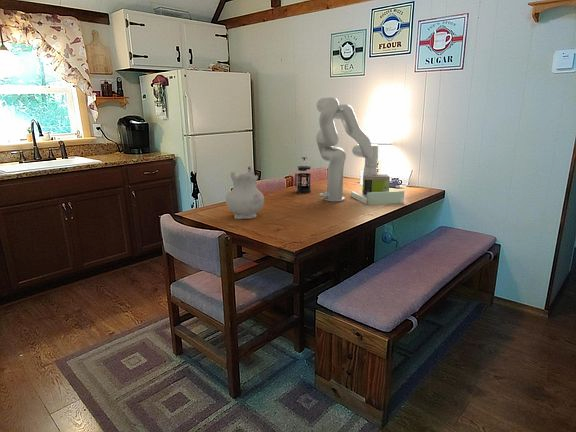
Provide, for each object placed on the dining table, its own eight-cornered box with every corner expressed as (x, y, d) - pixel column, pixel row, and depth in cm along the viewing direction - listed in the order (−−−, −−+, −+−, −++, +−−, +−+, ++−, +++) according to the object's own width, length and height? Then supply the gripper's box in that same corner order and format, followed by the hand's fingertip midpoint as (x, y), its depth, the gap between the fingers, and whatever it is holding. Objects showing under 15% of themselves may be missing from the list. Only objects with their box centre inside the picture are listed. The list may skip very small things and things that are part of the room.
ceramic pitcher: (232, 212, 210) (227, 167, 203) (267, 209, 209) (263, 164, 202) (225, 223, 190) (218, 174, 183) (264, 221, 189) (259, 171, 182)
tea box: (386, 197, 240) (387, 173, 236) (388, 201, 230) (390, 176, 226) (361, 196, 241) (363, 173, 237) (363, 200, 232) (364, 176, 228)
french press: (314, 191, 256) (315, 157, 250) (307, 194, 248) (307, 158, 242) (299, 189, 262) (299, 155, 256) (291, 192, 255) (292, 157, 248)
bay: (367, 205, 221) (368, 193, 219) (350, 196, 243) (351, 185, 241) (403, 202, 227) (404, 191, 225) (383, 194, 249) (384, 183, 247)
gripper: (360, 163, 245) (358, 191, 250) (371, 166, 231) (369, 196, 236) (370, 162, 247) (369, 190, 252) (382, 166, 233) (380, 195, 238)
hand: (369, 193), depth 244 cm, fingers closed
